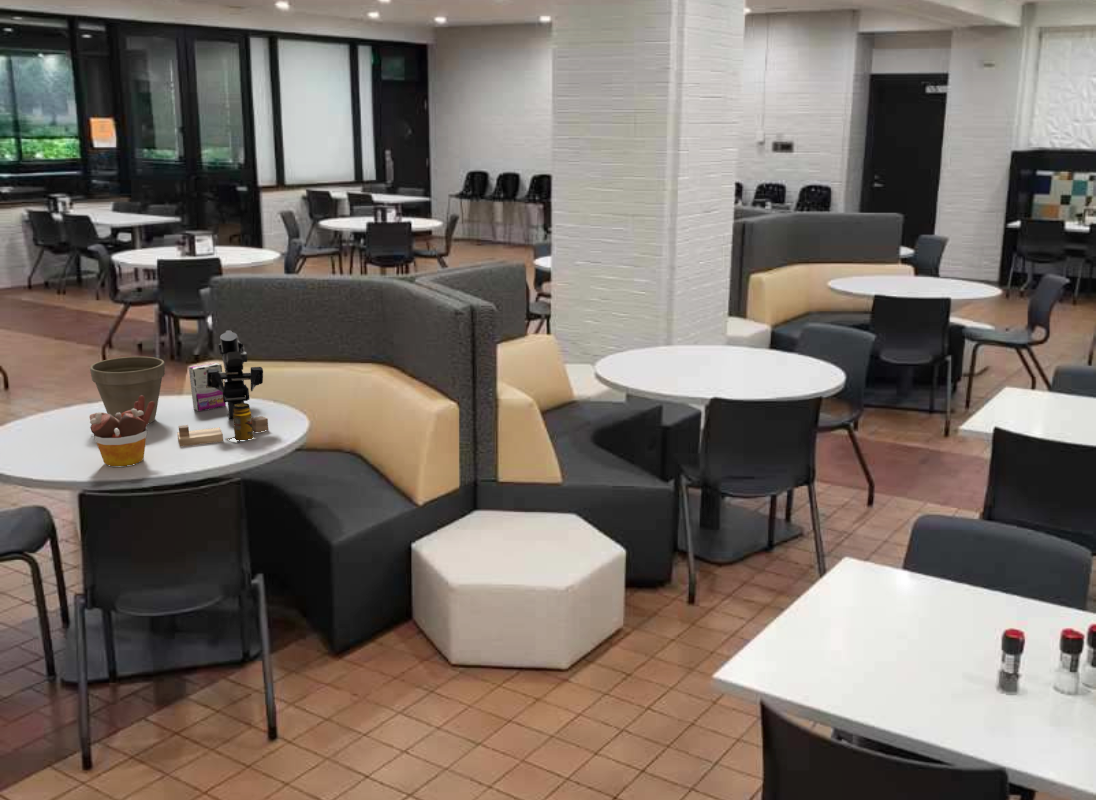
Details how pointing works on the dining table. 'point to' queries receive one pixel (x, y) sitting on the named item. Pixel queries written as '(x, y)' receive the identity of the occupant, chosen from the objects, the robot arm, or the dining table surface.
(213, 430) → the foundation
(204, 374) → the candy bar box
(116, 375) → the plant pot
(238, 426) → the condiment
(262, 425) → the block
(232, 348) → the robot arm
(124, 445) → the bucket of meat
